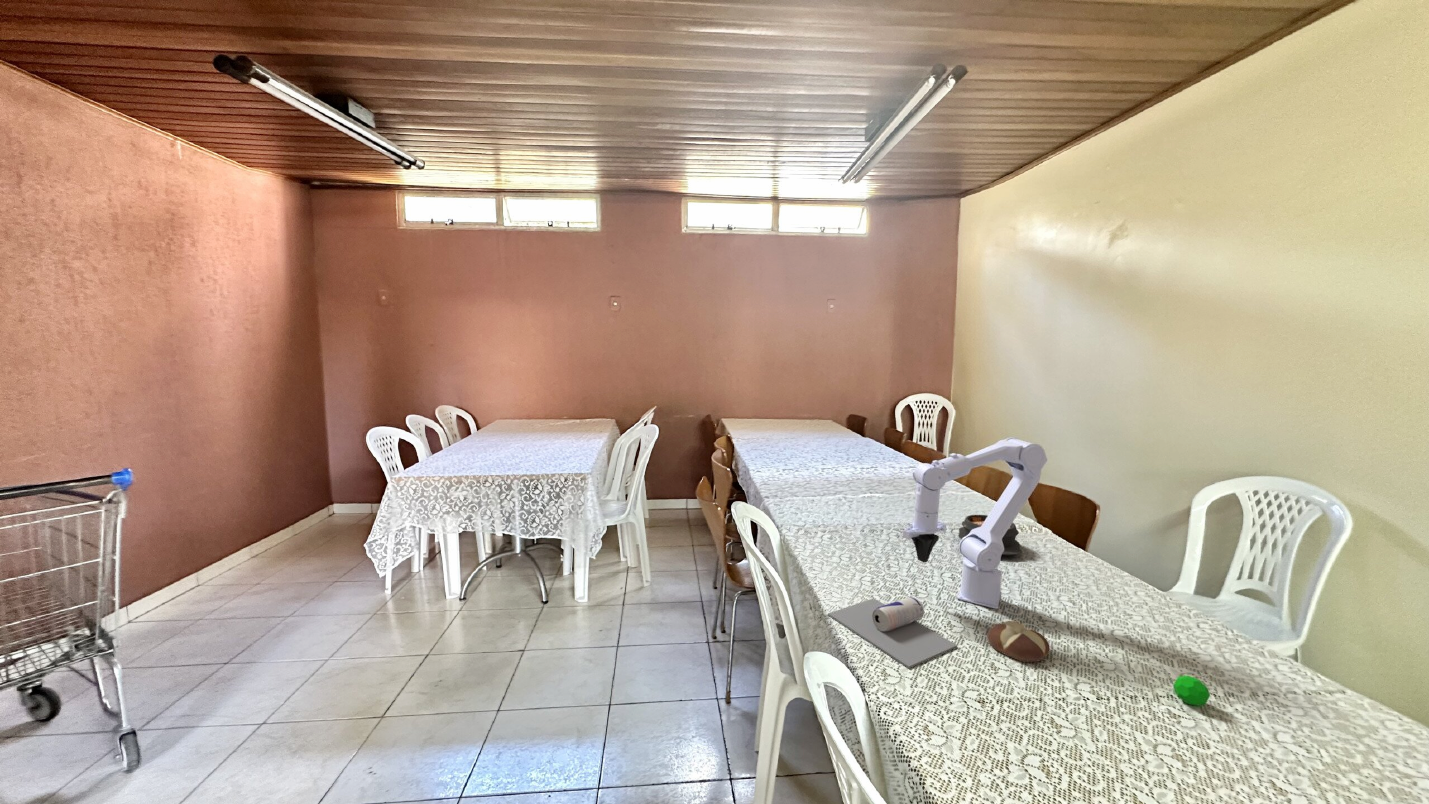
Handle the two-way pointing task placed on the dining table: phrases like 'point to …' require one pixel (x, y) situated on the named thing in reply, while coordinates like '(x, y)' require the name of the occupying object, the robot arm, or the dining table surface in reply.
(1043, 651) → the bread
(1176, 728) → the dining table surface
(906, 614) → the energy drink
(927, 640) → the mat
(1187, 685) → the polyhedron
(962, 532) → the casserole
